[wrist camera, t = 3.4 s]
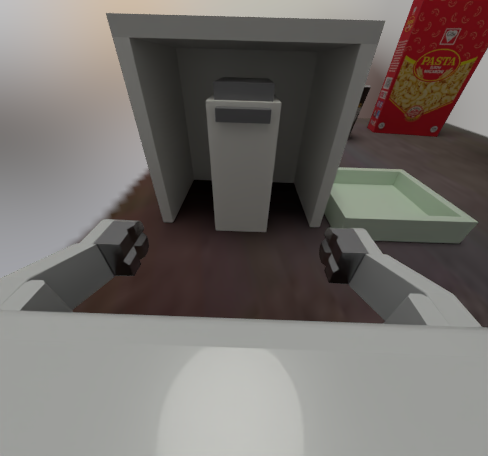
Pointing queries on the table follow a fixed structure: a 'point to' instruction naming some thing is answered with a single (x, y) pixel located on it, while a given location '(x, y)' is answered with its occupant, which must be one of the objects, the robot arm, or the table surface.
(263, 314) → the table surface
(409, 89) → the food packaging
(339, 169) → the tray
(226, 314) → the table surface
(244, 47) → the bay
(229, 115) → the white and grey box
